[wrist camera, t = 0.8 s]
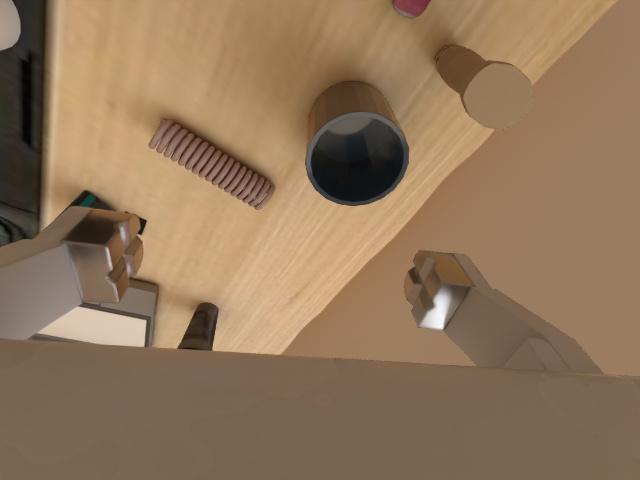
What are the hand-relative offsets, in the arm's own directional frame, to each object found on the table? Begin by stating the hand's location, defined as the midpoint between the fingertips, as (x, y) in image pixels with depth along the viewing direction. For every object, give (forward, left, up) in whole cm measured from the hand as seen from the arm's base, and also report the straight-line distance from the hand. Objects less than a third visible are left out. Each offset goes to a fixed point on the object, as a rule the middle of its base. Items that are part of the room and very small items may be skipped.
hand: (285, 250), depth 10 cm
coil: (+18, -11, -38) cm, 43 cm away
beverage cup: (+55, -15, -38) cm, 68 cm away
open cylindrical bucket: (+10, +7, -37) cm, 39 cm away
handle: (0, +17, -38) cm, 41 cm away
